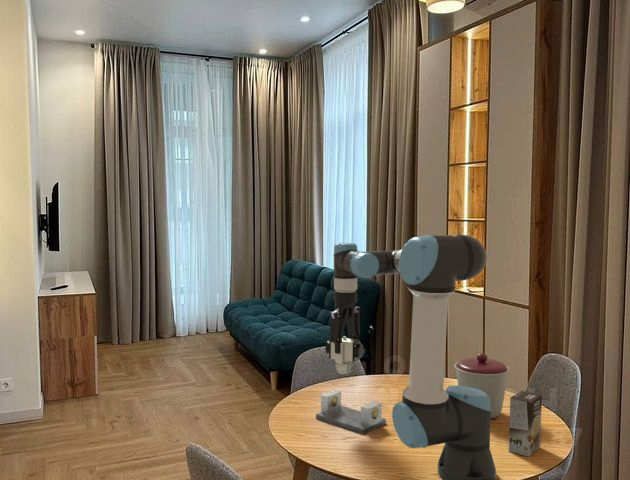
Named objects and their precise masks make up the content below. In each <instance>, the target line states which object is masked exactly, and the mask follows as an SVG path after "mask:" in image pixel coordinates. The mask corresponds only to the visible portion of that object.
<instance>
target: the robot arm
mask: <svg viewBox="0 0 630 480" xmlns="http://www.w3.org/2000/svg"><path fill="white" fill-rule="evenodd" d="M333 247H334V248H333V249H334V250H333V255H332V256H333V284H334V285H333V289H334V292H333V302H334V303H335V306H336V307H335V310H334V311H330V312H329V318H330V327H329V330H330V331H329V340H330V342H332V343H334V344H335V359H334V361H335V362H334V363H336V364H337V363H339V364H343V343H342V338H343V336H344V332H345V325H346V328H347V333H348V339H357V340H360V339H359V338H360V336H361V317H360V314H361V307H360V306H356V305H355V304H356V303H357V302H358V292H357V290H358V277H359V278H361V279H362V278H366V279H367V278H372V277H373V276H383V275H384V276H386V275H400V276H401V279H402V280H403V282H404V283H406V284H407V290H408V291H409V292H410V293H411V294H412V297H413V298H412V299H413V300H412V318H411V339H410V357H409V376H408V378H409V379H408V381H409V382H408V386H406V387H405V388H404V389H403V390H402V396H401V397H402V400H401V401H398V402H396V403H395V404H394V406H393V407H392V410H391V411H392V412H391V415H392V417H391V418H392V424H393V428H394V430H395V433H396V434H397V436H398V438H399V439H400V441H401V442H402V443H403V444H404V446H406V447H408V448H410V449H420V448H422V449H425V448H426V449H427V447H430V446H435V445H437V446H438V445H440V444H441V445H442V444H444V445H443V447H442V450H441V454H440V456H439V458H438V462H437V474H438V476H439V477H440V478H441V479H443V480H496V478H497V468H496V464H495V461H494V459H493V454H492V452H491V449H490V447H491V446H490V445H491V443H490V442H491V419H490V418H491V407H490V397H489V396H488V395H487V394H486V393H485V392H483V391H481V390H478V389H475V388H471V387H466V386H458V385H449V386H447V387H446V388H445V389H444V377H445V365H446V364H445V361H446V344H447V343H446V342H447V325H448V309H449V308H448V306H449V298H450V297H451V296H452V295H453V294H454V293H455V292H456V282H459V281H460V282H461V281H463V282H464V281H468V280H471V279H474V278H476V277H477V276H478V275H480V274H481V273H482V271H484V268H485V267H486V264H487V259H488V258H487V255H488V254H487V252H486V248H485V246H484V245H483V243H482V242H480V241H479V240H478V239H477V238H475V237H474V236H471V235H466V234H445V235H444V234H441V235H439V234H437V235H436V234H435V235H434V234H433V235H428V234H426V235H421V236H414V237H412V238H410V239H409V240H407V242H406V243H405V244H404V246H403V247H402V249H394V250H391V249H390V250H373V251H370V250H369V251H368V250H367V251H359V250H358V245H357V244H356V243H353V242H339V243H336V244H334V246H333ZM338 339H339V340H338Z"/></svg>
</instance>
